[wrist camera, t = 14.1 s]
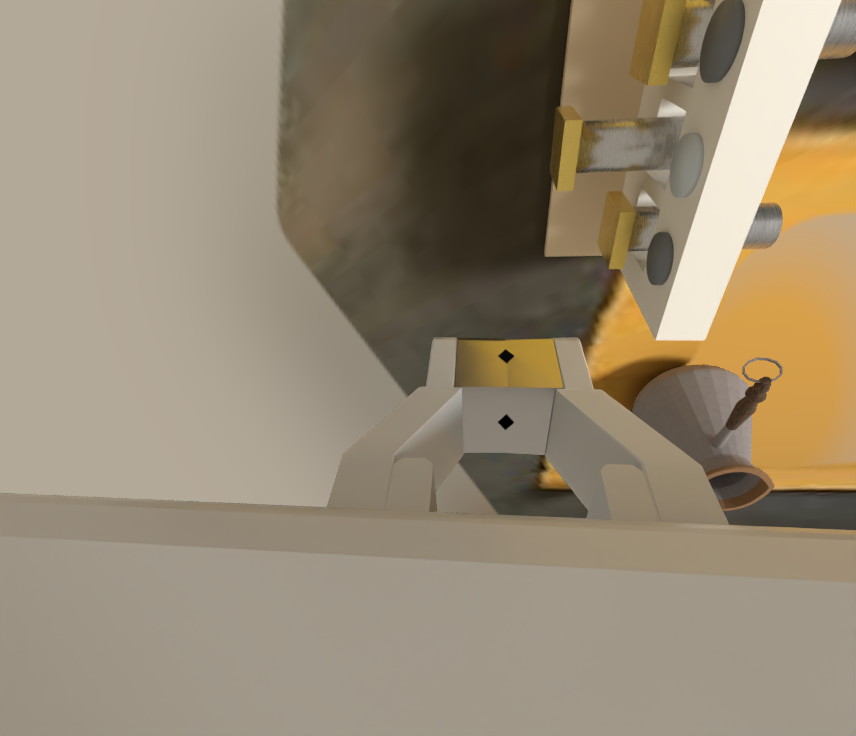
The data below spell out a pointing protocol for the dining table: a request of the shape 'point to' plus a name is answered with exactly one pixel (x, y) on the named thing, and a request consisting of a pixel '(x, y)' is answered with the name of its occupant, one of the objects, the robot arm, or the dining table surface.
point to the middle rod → (610, 145)
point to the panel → (688, 144)
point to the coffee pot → (710, 425)
